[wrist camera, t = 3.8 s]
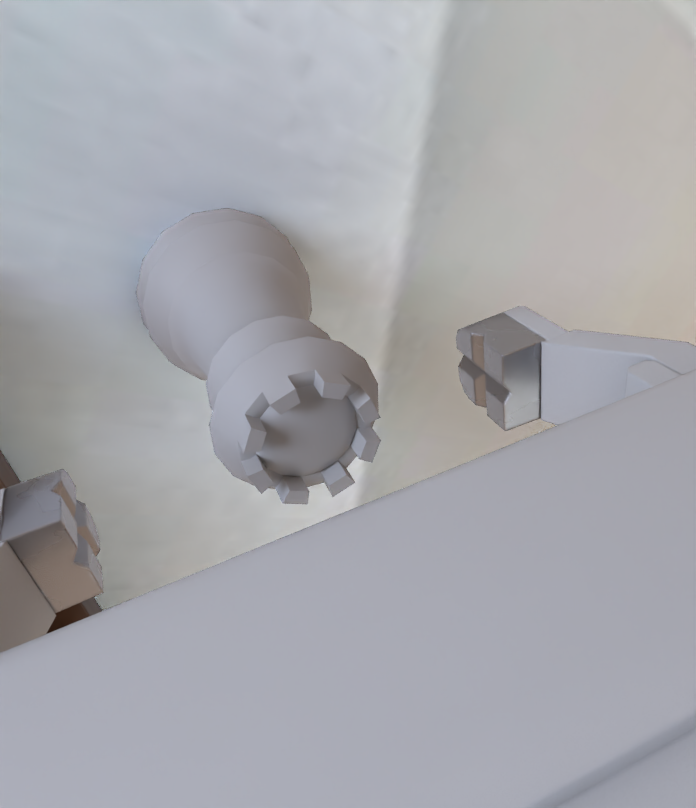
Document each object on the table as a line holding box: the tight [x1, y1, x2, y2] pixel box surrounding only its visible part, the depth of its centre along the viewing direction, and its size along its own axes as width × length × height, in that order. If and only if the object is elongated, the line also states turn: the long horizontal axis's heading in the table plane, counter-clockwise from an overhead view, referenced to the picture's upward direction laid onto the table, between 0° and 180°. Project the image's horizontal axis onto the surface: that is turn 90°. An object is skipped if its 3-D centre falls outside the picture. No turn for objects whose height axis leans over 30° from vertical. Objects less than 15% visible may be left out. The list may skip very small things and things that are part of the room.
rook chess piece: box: [136, 208, 381, 504], centre depth 14 cm, size 4×4×8 cm
